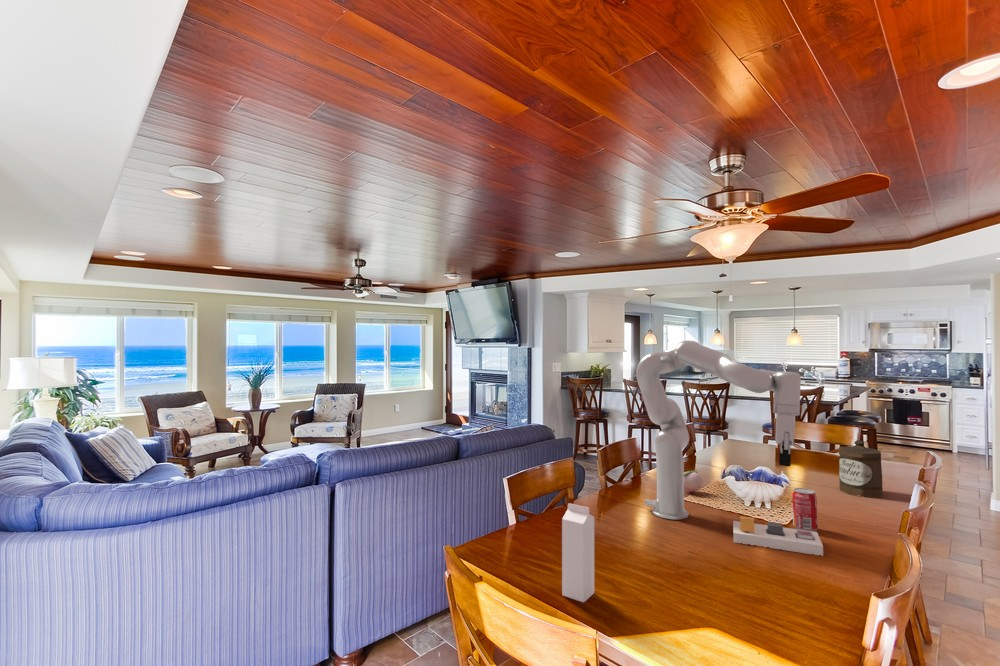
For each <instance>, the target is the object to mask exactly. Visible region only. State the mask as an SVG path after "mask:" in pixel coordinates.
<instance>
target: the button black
mask: <svg viewBox="0 0 1000 666" xmlns="http://www.w3.org/2000/svg"><path fill="white" fill-rule="evenodd" d="M767 525H768V534H772V535H779V536H783V528H784V526H783V523H781V522H776V521H775V522H774V521H767Z"/></svg>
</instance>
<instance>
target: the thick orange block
mask: <svg viewBox="0 0 1000 666" xmlns="http://www.w3.org/2000/svg"><path fill="white" fill-rule="evenodd" d="M739 522H740V530H741V531H745V533H749V532H754V524H755V518H754V517H748V516H741V515H740V516H739Z"/></svg>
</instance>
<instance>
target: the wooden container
mask: <svg viewBox="0 0 1000 666" xmlns="http://www.w3.org/2000/svg"><path fill="white" fill-rule="evenodd" d="M853 443H854V444H855V445H853V446H839V447H838V455H839V459H838V460H839V465H838V466H839V468H838V471H839V473H838V474H839V477H838V479H839V480H838V481H839V490H840V491H841V492H842V491H844V492H843V493H845V492H846V493H845V494H847V493H850V494H849V495H851V494H854V495H853V496H855V495H860V496H859V497H862V496H866V497H865V498H880V497H883V470H882V468H883V467H882V452H881V450H878V449H875V448H871V447H866V446H865V442H864V441H863V440H859V439H857V440H855V441H854V442H853Z"/></svg>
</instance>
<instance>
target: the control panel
mask: <svg viewBox="0 0 1000 666" xmlns="http://www.w3.org/2000/svg"><path fill="white" fill-rule="evenodd" d="M732 523H733V524H732V525H733V527H732V530H733V531H732V532H733V533H732V534H733V537H732V538H733V540H732V541H733V543H735V544H741V543H742V544H743V545H748V544H750V546H754V545H757V546H756V547H761V546H763V548H767V547H769V549H775V550H780V549H781V550H783V551H789V552H794V553H795V552H796V553H801V554H807V555H813V554H814V556H819V555H821V556H822V557H824V545H823V542H822V540H821V537H820V536H819V533H818V532H817V531H815V532H812V531H807V532H811V533H812V535H813V540H806V539H799V538H797V537H796V530H798V529H796V528H790V527H789V528H788V527H783V536H779V535H772V534H768V524H762V523H754V532H749V533H745V531H741V530H740V520H739V521H738V520H733V521H732ZM800 531H805V530H800Z"/></svg>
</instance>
